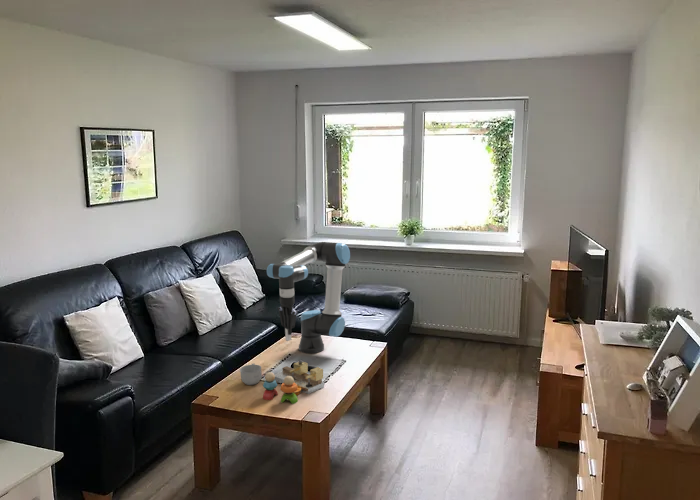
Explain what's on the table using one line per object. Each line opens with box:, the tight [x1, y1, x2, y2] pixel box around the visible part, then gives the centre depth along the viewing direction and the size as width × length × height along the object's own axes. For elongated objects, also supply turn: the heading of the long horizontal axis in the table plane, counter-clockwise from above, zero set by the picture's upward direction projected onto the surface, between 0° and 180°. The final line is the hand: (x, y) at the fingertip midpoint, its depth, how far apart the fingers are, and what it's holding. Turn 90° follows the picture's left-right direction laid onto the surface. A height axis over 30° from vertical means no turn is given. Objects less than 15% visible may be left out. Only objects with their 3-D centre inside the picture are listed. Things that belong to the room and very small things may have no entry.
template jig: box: [273, 366, 325, 395], centre depth 288 cm, size 11×27×9 cm, turn 48°
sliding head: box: [289, 359, 309, 379], centre depth 288 cm, size 10×5×8 cm, turn 138°
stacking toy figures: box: [262, 371, 302, 405], centre depth 273 cm, size 18×17×12 cm
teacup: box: [239, 362, 263, 386], centre depth 291 cm, size 14×11×8 cm
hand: (288, 340), depth 294 cm, fingers closed
